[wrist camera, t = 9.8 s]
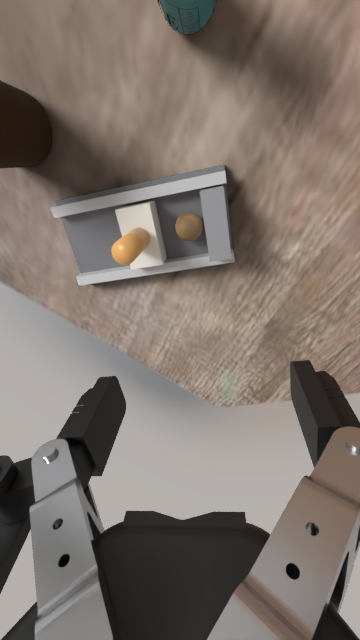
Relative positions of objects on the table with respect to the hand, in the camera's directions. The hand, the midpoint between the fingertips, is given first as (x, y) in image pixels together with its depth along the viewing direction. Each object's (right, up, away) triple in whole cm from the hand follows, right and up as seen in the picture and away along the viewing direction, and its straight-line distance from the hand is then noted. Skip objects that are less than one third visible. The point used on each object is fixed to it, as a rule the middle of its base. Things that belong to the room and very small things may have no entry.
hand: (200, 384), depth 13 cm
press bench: (-6, +17, +33) cm, 38 cm away
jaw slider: (-6, +17, +31) cm, 36 cm away
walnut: (+1, +17, +30) cm, 35 cm away
